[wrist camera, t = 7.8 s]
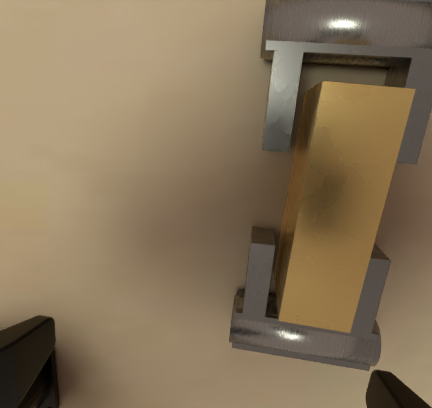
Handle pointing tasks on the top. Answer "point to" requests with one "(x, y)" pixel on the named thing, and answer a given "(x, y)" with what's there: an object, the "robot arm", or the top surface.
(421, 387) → the top surface
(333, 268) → the gold ingot
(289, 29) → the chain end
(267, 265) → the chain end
